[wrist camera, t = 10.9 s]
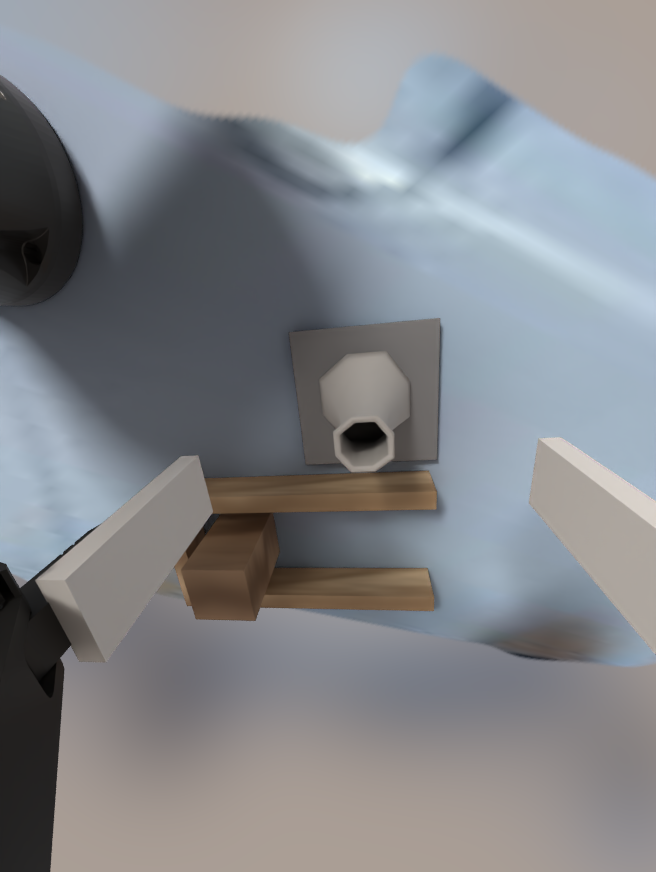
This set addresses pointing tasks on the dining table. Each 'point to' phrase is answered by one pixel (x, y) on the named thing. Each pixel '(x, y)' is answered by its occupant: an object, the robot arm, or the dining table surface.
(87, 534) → the robot arm
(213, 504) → the rack
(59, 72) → the dining table surface
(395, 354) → the coaster
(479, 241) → the dining table surface
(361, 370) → the flask
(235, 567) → the walnut block
